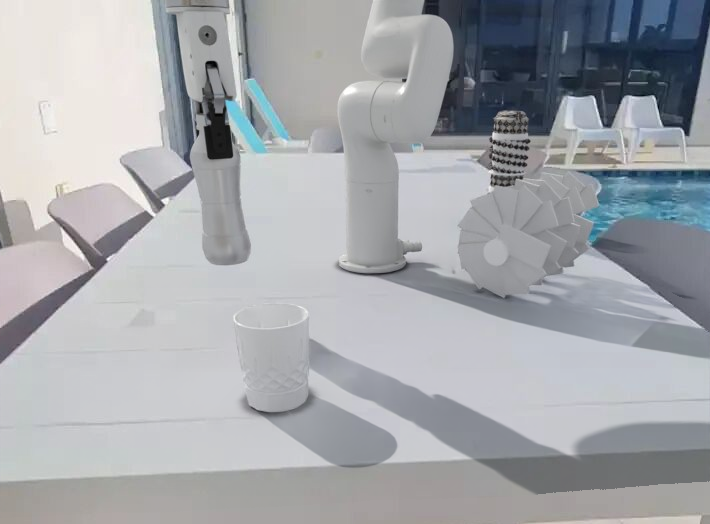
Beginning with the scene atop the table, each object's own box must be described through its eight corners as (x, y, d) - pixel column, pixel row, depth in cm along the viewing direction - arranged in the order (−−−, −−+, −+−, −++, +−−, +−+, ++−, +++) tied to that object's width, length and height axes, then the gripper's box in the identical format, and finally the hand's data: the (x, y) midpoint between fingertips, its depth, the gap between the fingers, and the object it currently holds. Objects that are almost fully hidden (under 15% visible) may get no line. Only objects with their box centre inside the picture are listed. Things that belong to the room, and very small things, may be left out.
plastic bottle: (241, 272, 87) (224, 116, 79) (196, 269, 89) (174, 116, 80) (259, 258, 93) (245, 112, 84) (216, 256, 94) (198, 111, 86)
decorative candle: (513, 229, 146) (523, 113, 136) (477, 224, 151) (484, 111, 140) (528, 222, 153) (539, 111, 143) (493, 217, 158) (501, 109, 147)
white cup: (324, 388, 74) (321, 307, 69) (293, 421, 67) (287, 333, 63) (264, 378, 76) (257, 299, 72) (228, 408, 69) (218, 323, 65)
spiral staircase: (467, 318, 106) (529, 274, 124) (564, 293, 94) (617, 249, 112) (427, 213, 102) (496, 184, 120) (522, 174, 90) (584, 148, 109)
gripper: (243, -5, 71) (258, 162, 79) (215, 5, 85) (231, 146, 93) (173, -7, 68) (196, 166, 76) (156, 4, 82) (177, 149, 90)
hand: (215, 153), depth 84 cm, fingers closed on plastic bottle, 6 cm apart
